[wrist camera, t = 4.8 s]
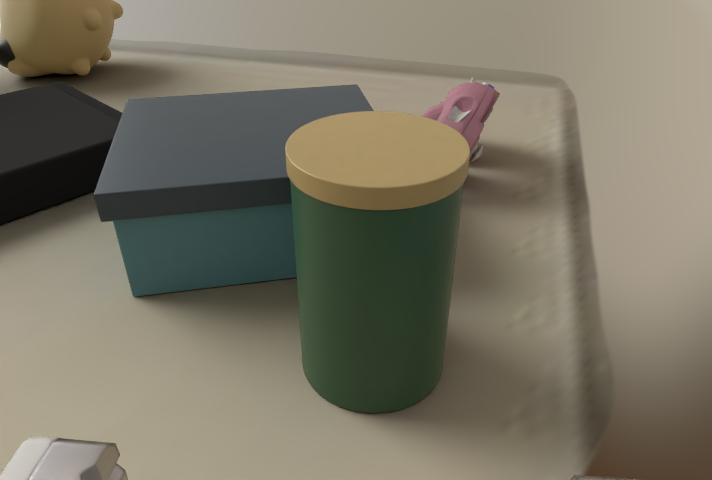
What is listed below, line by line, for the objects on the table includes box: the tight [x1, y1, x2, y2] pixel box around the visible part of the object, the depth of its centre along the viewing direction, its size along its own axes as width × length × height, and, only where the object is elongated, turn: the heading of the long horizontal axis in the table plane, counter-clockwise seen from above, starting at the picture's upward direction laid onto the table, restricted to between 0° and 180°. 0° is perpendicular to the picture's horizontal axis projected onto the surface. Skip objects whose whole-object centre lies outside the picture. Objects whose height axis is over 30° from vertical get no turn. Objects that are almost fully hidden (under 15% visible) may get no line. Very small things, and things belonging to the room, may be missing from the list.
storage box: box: [94, 84, 373, 297], centre depth 33 cm, size 14×12×6 cm
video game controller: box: [422, 77, 500, 162], centre depth 39 cm, size 10×5×7 cm, turn 160°
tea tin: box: [285, 111, 470, 413], centre depth 22 cm, size 6×6×10 cm
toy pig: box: [0, 0, 123, 77], centre depth 56 cm, size 10×12×11 cm
